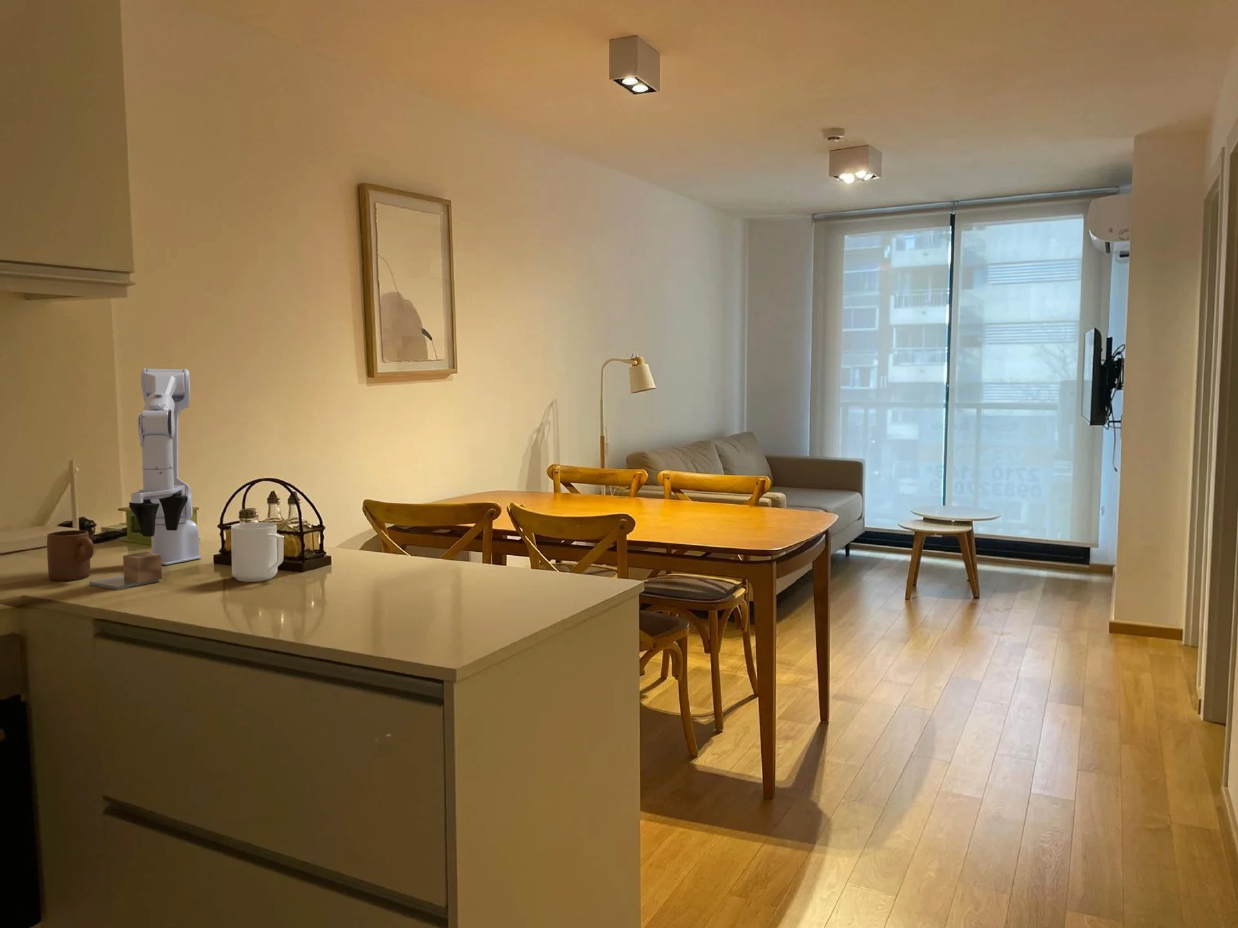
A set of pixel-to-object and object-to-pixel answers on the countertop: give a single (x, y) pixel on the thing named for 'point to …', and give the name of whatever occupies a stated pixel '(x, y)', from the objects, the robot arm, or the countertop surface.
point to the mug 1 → (69, 555)
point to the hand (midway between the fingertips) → (160, 533)
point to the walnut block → (142, 567)
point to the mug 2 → (256, 551)
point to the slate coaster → (117, 583)
